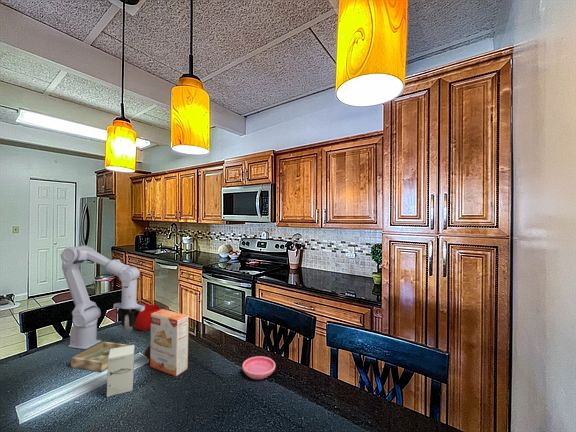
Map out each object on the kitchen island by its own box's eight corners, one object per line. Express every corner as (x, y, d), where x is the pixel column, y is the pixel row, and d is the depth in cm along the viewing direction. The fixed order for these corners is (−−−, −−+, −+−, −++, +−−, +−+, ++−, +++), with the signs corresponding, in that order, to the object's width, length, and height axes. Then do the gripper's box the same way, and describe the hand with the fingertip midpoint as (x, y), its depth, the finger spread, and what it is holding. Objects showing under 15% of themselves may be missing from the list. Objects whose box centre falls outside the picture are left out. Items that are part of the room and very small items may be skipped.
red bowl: (144, 337, 127) (144, 316, 127) (125, 329, 137) (126, 309, 137) (169, 328, 138) (169, 309, 138) (150, 321, 147) (151, 302, 147)
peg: (122, 331, 119) (122, 315, 119) (128, 328, 122) (128, 312, 122) (128, 331, 118) (129, 315, 118) (134, 328, 121) (134, 313, 121)
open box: (70, 367, 102) (70, 358, 102) (103, 349, 115) (103, 341, 115) (101, 372, 99) (101, 362, 99) (131, 353, 113) (131, 345, 113)
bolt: (168, 346, 123) (152, 363, 108) (158, 341, 123) (141, 356, 108) (174, 335, 124) (160, 350, 109) (165, 329, 124) (149, 344, 109)
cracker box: (148, 367, 102) (150, 312, 103) (162, 360, 108) (163, 308, 108) (175, 377, 96) (176, 319, 97) (188, 369, 102) (189, 314, 102)
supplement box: (105, 398, 85) (106, 358, 85) (108, 385, 92) (109, 347, 92) (132, 391, 89) (133, 353, 89) (133, 379, 95) (134, 343, 95)
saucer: (267, 361, 109) (268, 353, 109) (280, 377, 98) (280, 368, 98) (238, 367, 104) (238, 359, 104) (248, 386, 93) (248, 377, 93)
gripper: (149, 293, 122) (149, 323, 122) (122, 291, 125) (121, 320, 125) (138, 298, 116) (137, 330, 115) (109, 295, 118) (108, 326, 118)
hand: (128, 325), depth 120 cm, fingers closed on peg, 3 cm apart
